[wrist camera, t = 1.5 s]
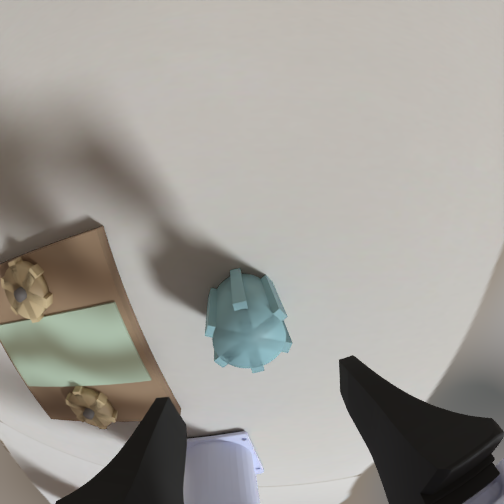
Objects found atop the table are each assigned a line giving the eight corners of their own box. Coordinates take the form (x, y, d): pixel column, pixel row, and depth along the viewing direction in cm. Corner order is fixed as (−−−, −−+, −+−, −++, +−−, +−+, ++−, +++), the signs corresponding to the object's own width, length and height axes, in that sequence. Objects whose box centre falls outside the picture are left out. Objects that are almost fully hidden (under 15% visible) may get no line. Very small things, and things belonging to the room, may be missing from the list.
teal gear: (280, 321, 20) (296, 362, 16) (220, 335, 20) (221, 379, 16) (267, 261, 19) (282, 291, 14) (202, 276, 19) (196, 311, 14)
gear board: (181, 408, 22) (178, 431, 20) (54, 411, 22) (46, 428, 19) (103, 225, 17) (85, 235, 15) (-21, 272, 17) (-39, 283, 14)
